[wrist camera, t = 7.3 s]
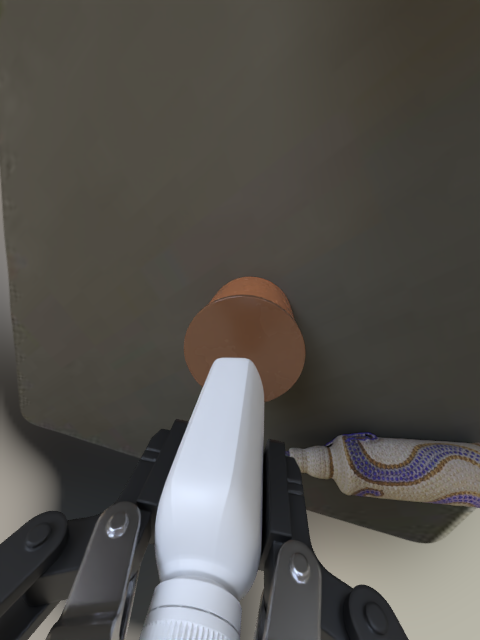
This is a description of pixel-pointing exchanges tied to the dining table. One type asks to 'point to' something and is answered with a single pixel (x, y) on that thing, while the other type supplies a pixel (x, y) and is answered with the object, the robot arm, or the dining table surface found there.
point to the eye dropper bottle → (211, 512)
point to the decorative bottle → (397, 468)
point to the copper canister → (248, 334)
